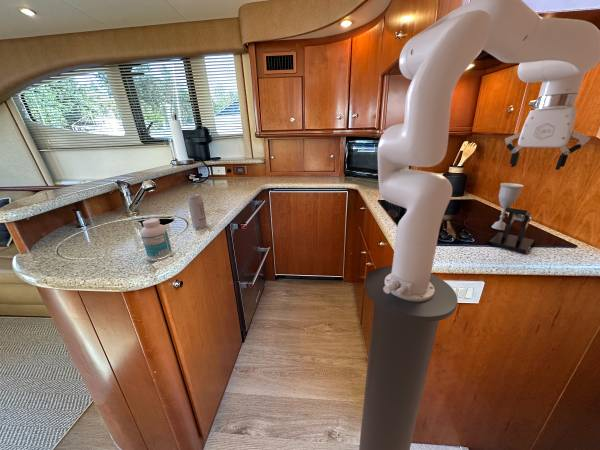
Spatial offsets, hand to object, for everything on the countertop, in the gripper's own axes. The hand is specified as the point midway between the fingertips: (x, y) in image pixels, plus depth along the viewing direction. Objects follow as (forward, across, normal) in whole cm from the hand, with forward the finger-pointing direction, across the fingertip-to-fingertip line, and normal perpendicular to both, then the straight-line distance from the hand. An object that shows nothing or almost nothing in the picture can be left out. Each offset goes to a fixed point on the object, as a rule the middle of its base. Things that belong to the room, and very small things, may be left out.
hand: (534, 167), depth 70 cm
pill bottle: (+28, -76, -92) cm, 122 cm away
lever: (+16, -1, +2) cm, 16 cm away
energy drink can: (+28, -97, -72) cm, 123 cm away
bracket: (+27, -1, +6) cm, 28 cm away
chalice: (+27, -8, +22) cm, 36 cm away
